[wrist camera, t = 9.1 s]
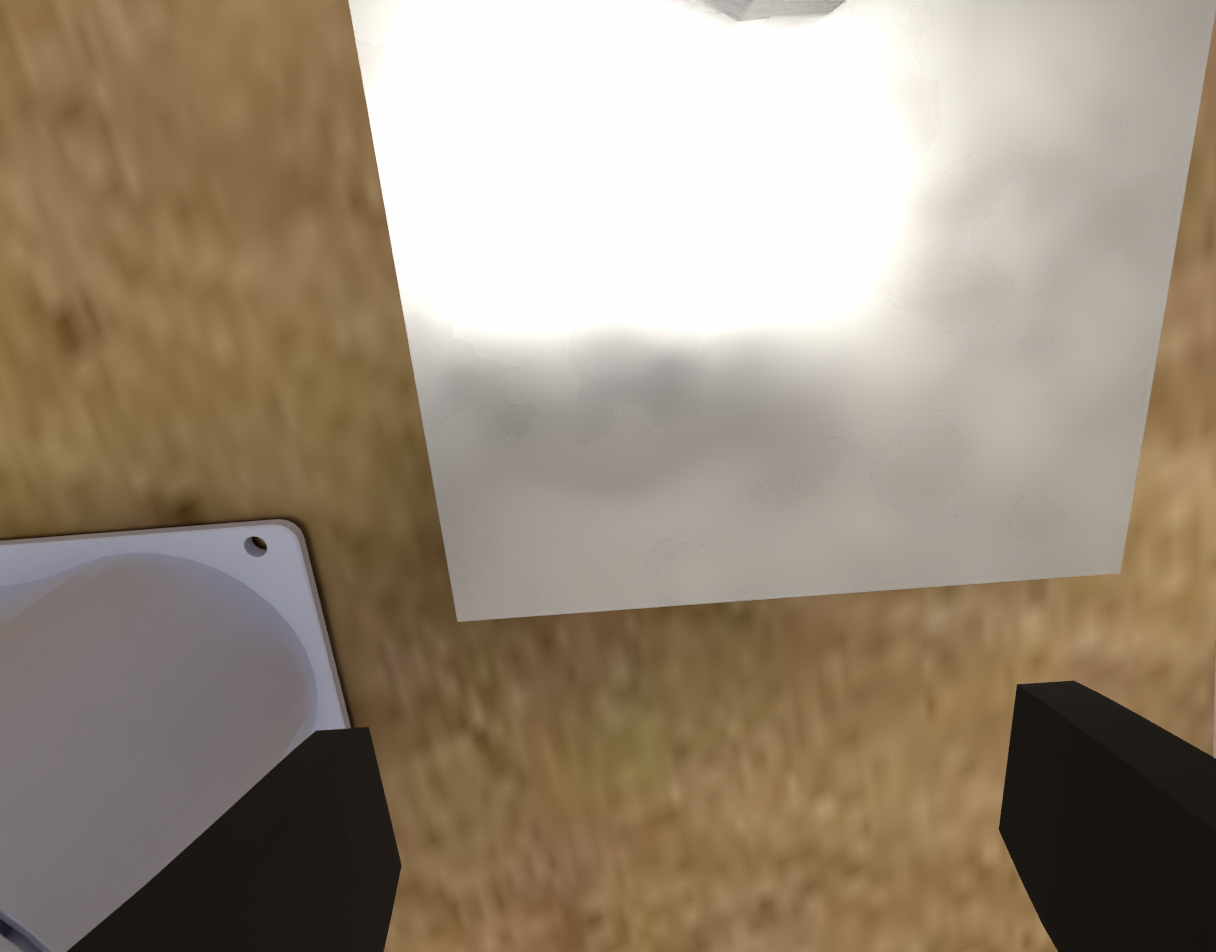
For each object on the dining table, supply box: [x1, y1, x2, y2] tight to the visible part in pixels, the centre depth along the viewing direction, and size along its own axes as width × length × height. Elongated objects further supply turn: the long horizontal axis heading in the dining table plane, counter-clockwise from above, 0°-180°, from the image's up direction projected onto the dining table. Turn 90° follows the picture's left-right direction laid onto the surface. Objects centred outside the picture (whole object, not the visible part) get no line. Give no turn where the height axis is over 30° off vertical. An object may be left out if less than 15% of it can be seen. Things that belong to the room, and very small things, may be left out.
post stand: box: [349, 0, 1216, 622], centre depth 12 cm, size 15×21×6 cm
